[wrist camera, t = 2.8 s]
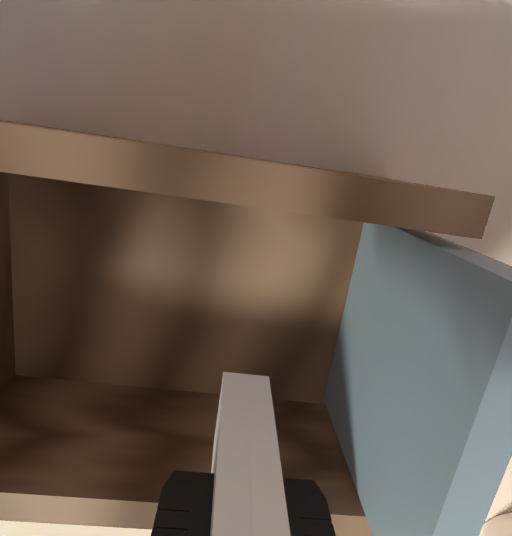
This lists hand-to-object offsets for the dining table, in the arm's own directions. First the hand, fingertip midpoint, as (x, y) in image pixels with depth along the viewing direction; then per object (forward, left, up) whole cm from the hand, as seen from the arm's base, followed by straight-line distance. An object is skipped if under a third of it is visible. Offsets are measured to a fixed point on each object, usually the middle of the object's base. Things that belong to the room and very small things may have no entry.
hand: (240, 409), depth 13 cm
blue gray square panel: (+8, 0, -10) cm, 13 cm away
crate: (-3, 0, -12) cm, 12 cm away
